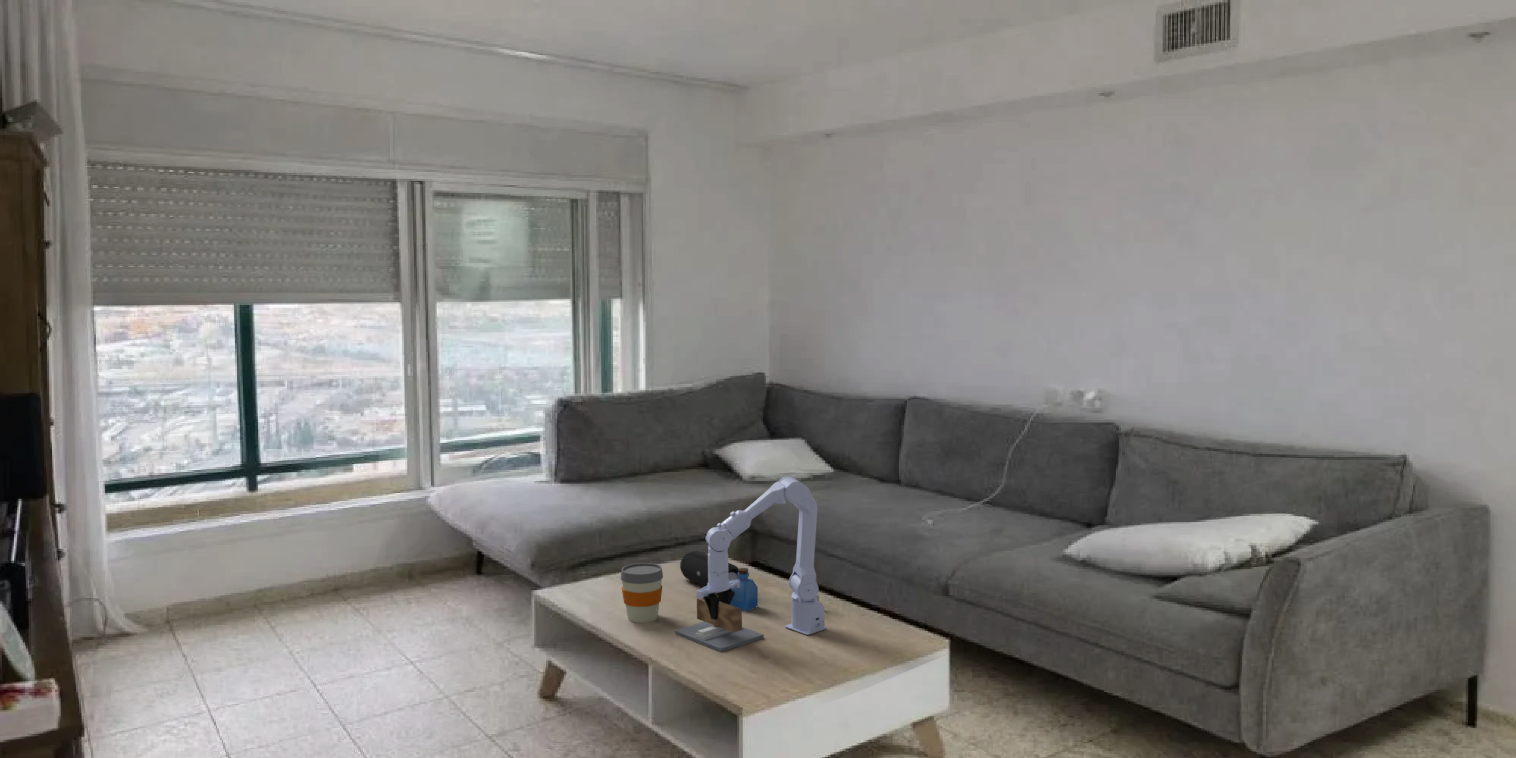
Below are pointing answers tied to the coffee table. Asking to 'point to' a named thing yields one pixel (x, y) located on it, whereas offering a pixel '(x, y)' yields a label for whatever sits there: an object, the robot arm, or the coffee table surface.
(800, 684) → the coffee table surface
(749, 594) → the perfume bottle
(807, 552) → the robot arm
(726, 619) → the walnut bar
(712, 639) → the ridge stand
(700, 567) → the portable speaker
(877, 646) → the coffee table surface
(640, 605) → the reusable coffee cup
